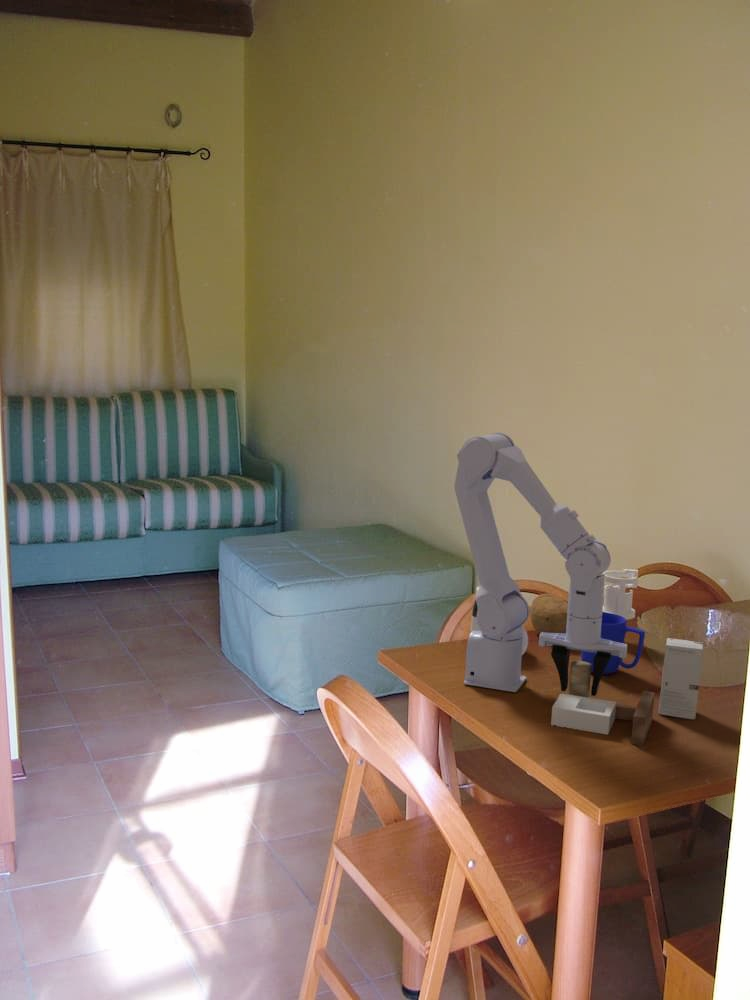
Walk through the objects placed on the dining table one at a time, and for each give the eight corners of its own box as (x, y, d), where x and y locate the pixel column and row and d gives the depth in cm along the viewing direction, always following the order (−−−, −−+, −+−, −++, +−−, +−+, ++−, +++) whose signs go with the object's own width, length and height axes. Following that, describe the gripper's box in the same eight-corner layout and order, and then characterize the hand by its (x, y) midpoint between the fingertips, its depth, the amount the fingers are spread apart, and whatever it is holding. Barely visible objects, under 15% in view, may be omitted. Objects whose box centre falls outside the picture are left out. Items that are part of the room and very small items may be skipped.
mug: (631, 685, 186) (635, 631, 185) (569, 670, 194) (573, 618, 192) (649, 674, 193) (653, 621, 191) (589, 659, 200) (593, 609, 198)
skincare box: (658, 715, 173) (664, 644, 170) (659, 706, 177) (665, 637, 175) (697, 720, 171) (703, 649, 169) (697, 711, 175) (703, 641, 173)
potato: (540, 648, 206) (543, 608, 205) (520, 627, 220) (522, 590, 218) (588, 647, 208) (591, 608, 206) (564, 626, 221) (567, 590, 220)
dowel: (566, 702, 177) (569, 665, 176) (570, 695, 180) (573, 659, 179) (586, 705, 176) (589, 668, 175) (590, 699, 179) (593, 662, 178)
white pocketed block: (551, 725, 167) (552, 707, 166) (559, 710, 173) (561, 693, 173) (608, 734, 164) (609, 716, 163) (614, 719, 170) (616, 701, 169)
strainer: (635, 647, 209) (641, 574, 206) (600, 645, 209) (605, 572, 206) (629, 636, 216) (634, 565, 213) (594, 635, 216) (599, 564, 213)
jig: (547, 729, 165) (548, 702, 164) (562, 704, 176) (563, 678, 175) (643, 745, 160) (645, 717, 159) (652, 718, 171) (654, 692, 170)
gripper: (631, 614, 176) (625, 690, 179) (546, 603, 182) (542, 677, 184) (626, 624, 170) (619, 704, 172) (538, 613, 175) (533, 690, 177)
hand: (579, 691), depth 178 cm, fingers open, 4 cm apart
